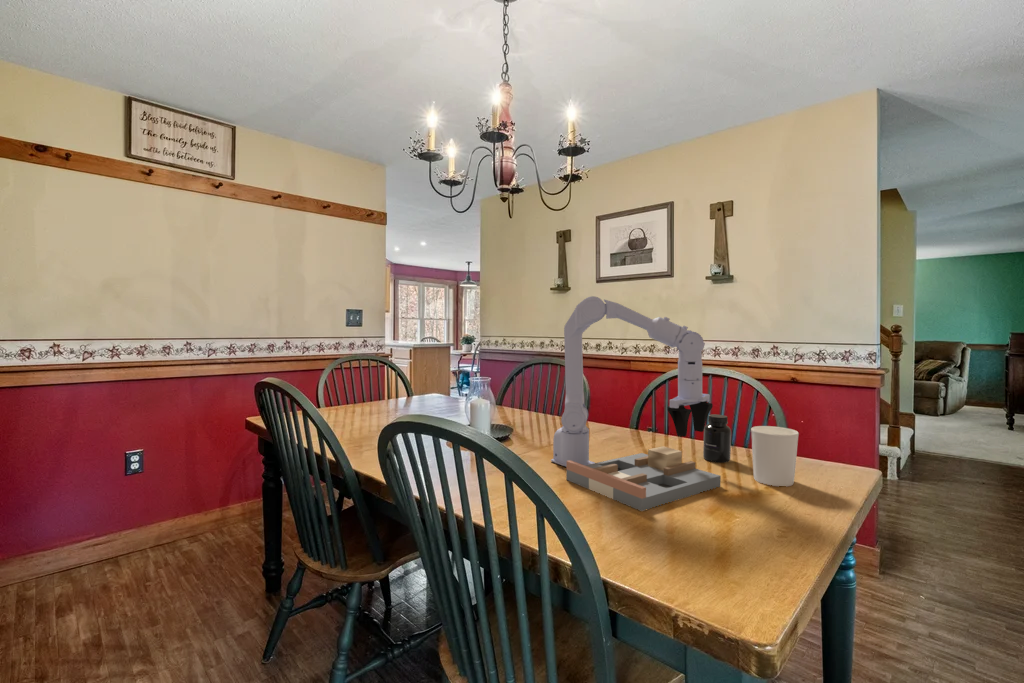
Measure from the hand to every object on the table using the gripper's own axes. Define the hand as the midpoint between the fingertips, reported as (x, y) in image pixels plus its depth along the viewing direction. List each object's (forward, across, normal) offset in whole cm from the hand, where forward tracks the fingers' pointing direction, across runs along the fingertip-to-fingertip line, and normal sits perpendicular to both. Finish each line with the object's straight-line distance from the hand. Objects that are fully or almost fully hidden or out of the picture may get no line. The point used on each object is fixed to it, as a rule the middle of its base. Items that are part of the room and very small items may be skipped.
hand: (690, 433), depth 120 cm
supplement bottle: (+10, +15, +2) cm, 18 cm away
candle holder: (+10, +9, -16) cm, 21 cm away
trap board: (+9, -17, +2) cm, 20 cm away
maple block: (+7, -9, +1) cm, 11 cm away
